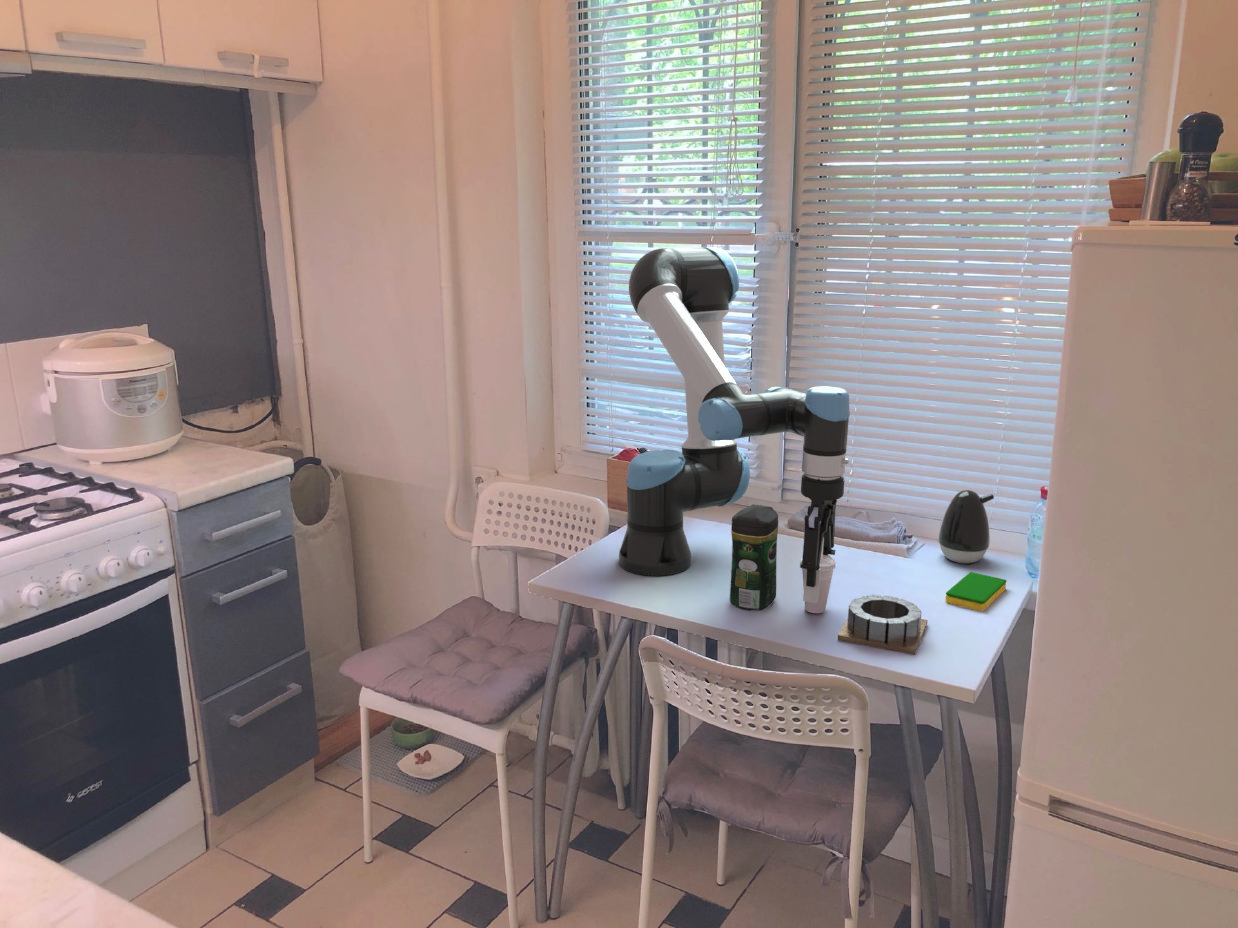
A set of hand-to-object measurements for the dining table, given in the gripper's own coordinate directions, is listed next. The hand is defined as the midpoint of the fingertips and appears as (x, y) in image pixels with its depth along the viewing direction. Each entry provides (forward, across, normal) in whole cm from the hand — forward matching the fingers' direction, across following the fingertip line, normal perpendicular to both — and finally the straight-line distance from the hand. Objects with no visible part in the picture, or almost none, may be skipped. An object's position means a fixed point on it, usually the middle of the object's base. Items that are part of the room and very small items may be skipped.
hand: (816, 594), depth 178 cm
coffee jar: (+4, -1, +12) cm, 12 cm away
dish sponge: (+4, +20, -26) cm, 33 cm away
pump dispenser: (+4, +40, -21) cm, 45 cm away
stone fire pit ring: (+3, -4, -13) cm, 14 cm away
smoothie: (+3, 0, 0) cm, 3 cm away
